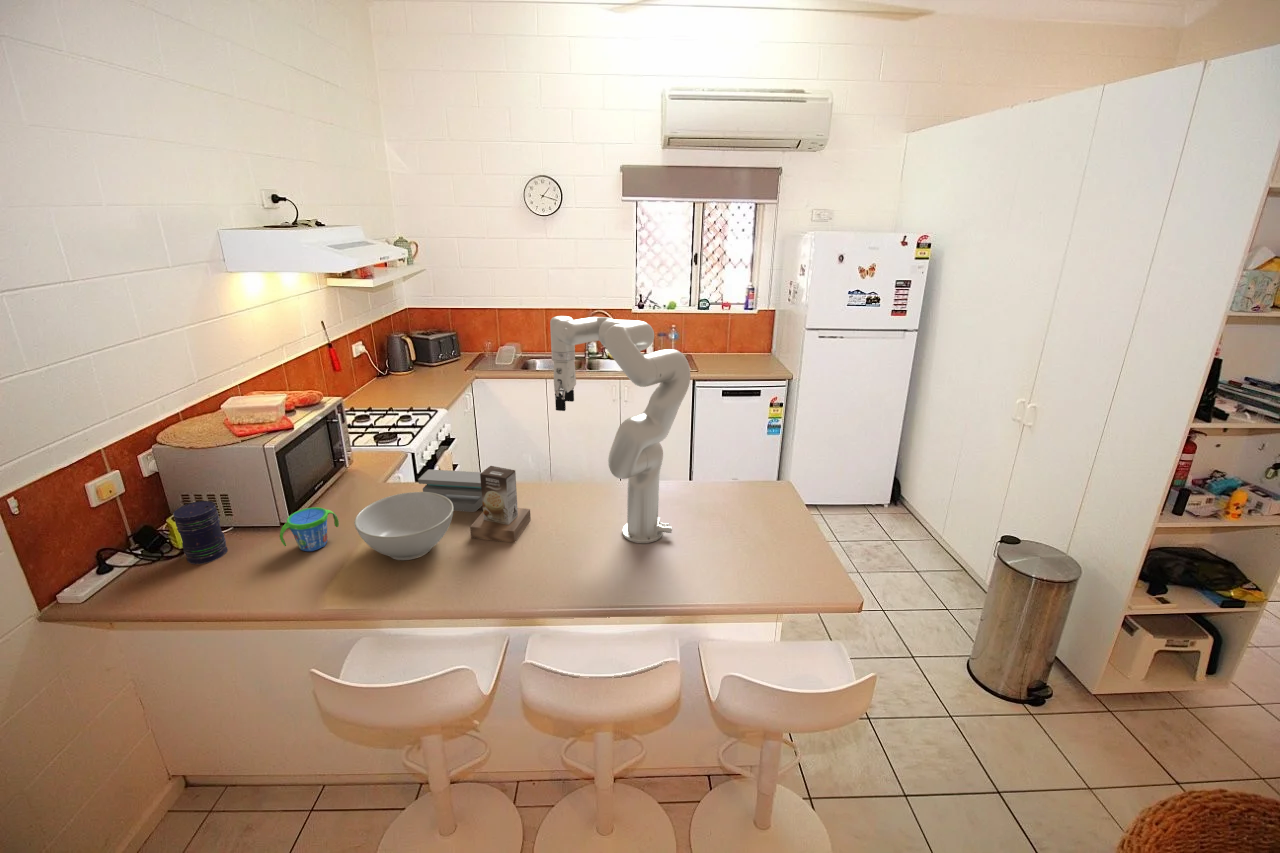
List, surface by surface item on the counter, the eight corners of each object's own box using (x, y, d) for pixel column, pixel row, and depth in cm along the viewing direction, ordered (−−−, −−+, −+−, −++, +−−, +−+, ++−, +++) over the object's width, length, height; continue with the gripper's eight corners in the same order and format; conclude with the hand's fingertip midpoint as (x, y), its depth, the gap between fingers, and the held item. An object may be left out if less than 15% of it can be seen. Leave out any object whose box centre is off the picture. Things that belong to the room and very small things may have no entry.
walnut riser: (530, 519, 192) (530, 509, 190) (514, 542, 179) (513, 531, 178) (489, 515, 194) (488, 504, 193) (471, 538, 181) (470, 526, 180)
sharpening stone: (502, 502, 203) (499, 473, 199) (494, 513, 196) (492, 483, 192) (432, 497, 205) (428, 469, 202) (422, 508, 198) (418, 479, 194)
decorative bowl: (339, 563, 168) (332, 526, 164) (405, 519, 191) (400, 485, 187) (416, 584, 159) (411, 545, 155) (475, 535, 183) (472, 500, 179)
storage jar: (183, 567, 165) (169, 520, 160) (189, 550, 173) (176, 505, 168) (226, 558, 169) (213, 512, 164) (230, 542, 178) (218, 497, 172)
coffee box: (482, 520, 183) (478, 473, 178) (493, 511, 189) (489, 465, 183) (509, 525, 181) (505, 478, 175) (519, 515, 186) (516, 469, 181)
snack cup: (288, 563, 168) (281, 531, 164) (279, 547, 175) (272, 517, 171) (346, 543, 178) (341, 513, 174) (336, 529, 185) (330, 500, 181)
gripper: (566, 362, 182) (568, 415, 188) (581, 349, 198) (582, 398, 204) (543, 361, 183) (545, 413, 189) (560, 348, 199) (562, 397, 205)
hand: (565, 405), depth 196 cm, fingers open, 9 cm apart
